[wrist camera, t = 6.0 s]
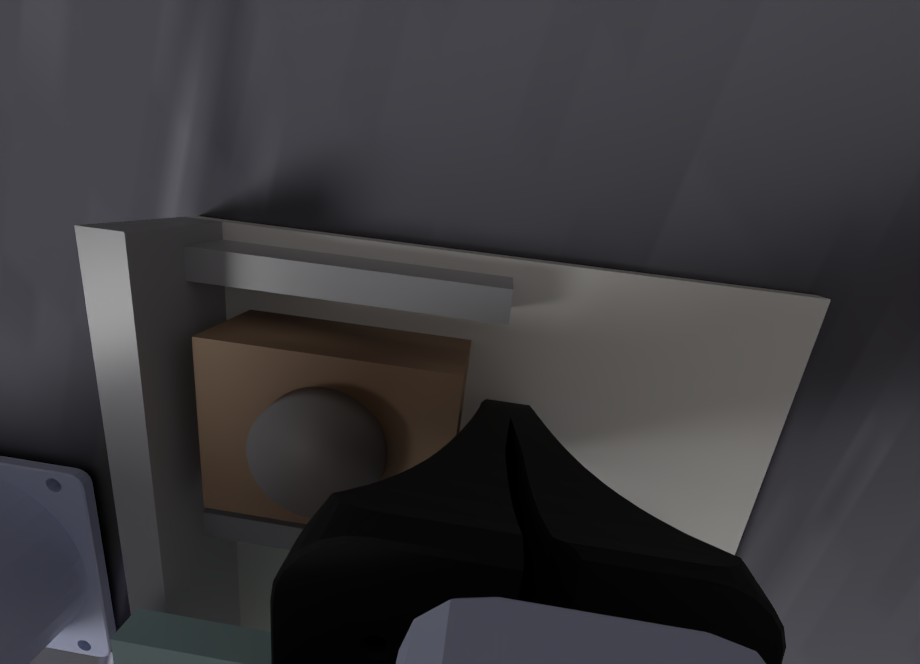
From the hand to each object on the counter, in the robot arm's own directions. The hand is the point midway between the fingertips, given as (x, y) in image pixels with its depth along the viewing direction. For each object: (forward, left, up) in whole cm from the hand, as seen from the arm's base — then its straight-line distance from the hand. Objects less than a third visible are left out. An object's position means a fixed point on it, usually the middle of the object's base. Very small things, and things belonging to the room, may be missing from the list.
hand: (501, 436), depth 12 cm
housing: (-1, -4, -1) cm, 4 cm away
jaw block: (-4, 0, -1) cm, 4 cm away
